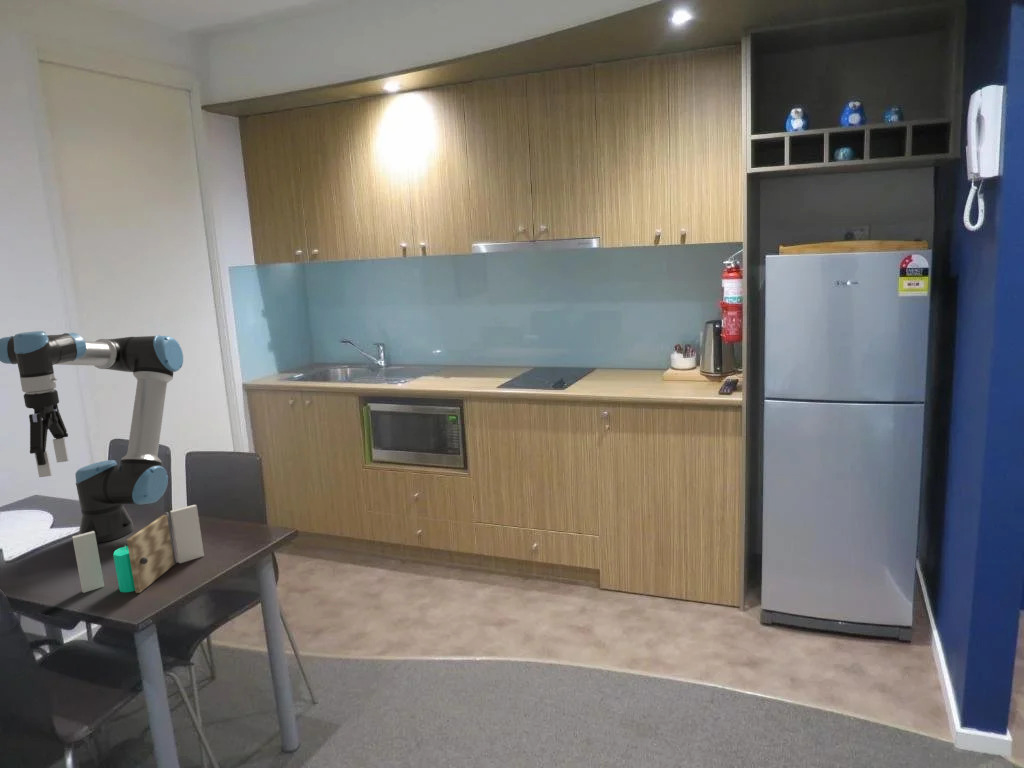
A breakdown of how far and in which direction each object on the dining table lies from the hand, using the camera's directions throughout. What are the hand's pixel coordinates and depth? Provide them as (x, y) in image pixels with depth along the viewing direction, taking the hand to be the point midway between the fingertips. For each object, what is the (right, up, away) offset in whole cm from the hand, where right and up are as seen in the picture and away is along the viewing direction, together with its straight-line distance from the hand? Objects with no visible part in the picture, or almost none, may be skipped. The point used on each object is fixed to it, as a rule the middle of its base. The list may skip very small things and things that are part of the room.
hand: (54, 468), depth 194 cm
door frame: (+21, -30, +8) cm, 37 cm away
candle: (+21, -32, -1) cm, 38 cm away
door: (+26, -30, +3) cm, 40 cm away
